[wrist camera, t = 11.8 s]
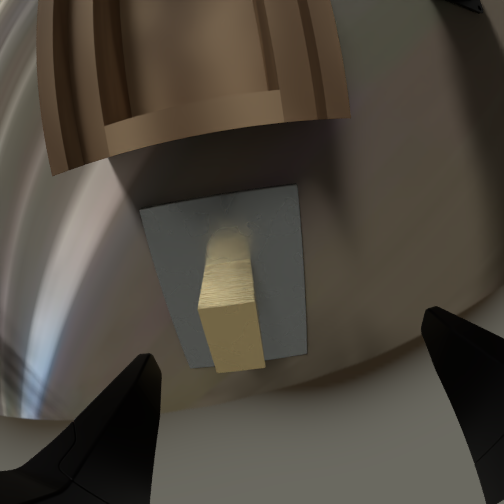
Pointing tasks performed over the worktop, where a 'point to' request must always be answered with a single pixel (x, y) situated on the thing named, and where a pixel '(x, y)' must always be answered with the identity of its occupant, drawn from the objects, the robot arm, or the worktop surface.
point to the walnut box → (180, 71)
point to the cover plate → (230, 241)
